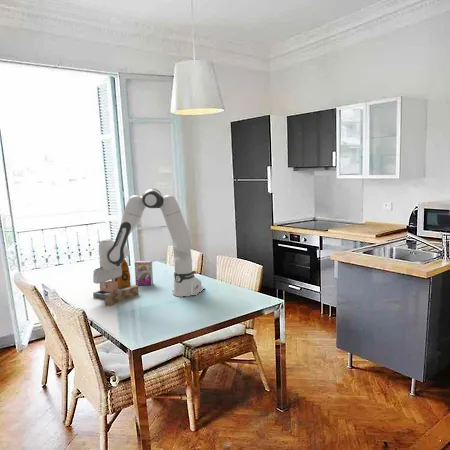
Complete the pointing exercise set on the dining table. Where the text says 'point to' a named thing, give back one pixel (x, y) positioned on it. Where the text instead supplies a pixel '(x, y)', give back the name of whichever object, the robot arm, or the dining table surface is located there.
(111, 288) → the block
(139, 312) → the dining table surface
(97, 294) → the tray
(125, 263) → the coffee package
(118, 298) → the walnut board
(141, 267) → the candy bar box
